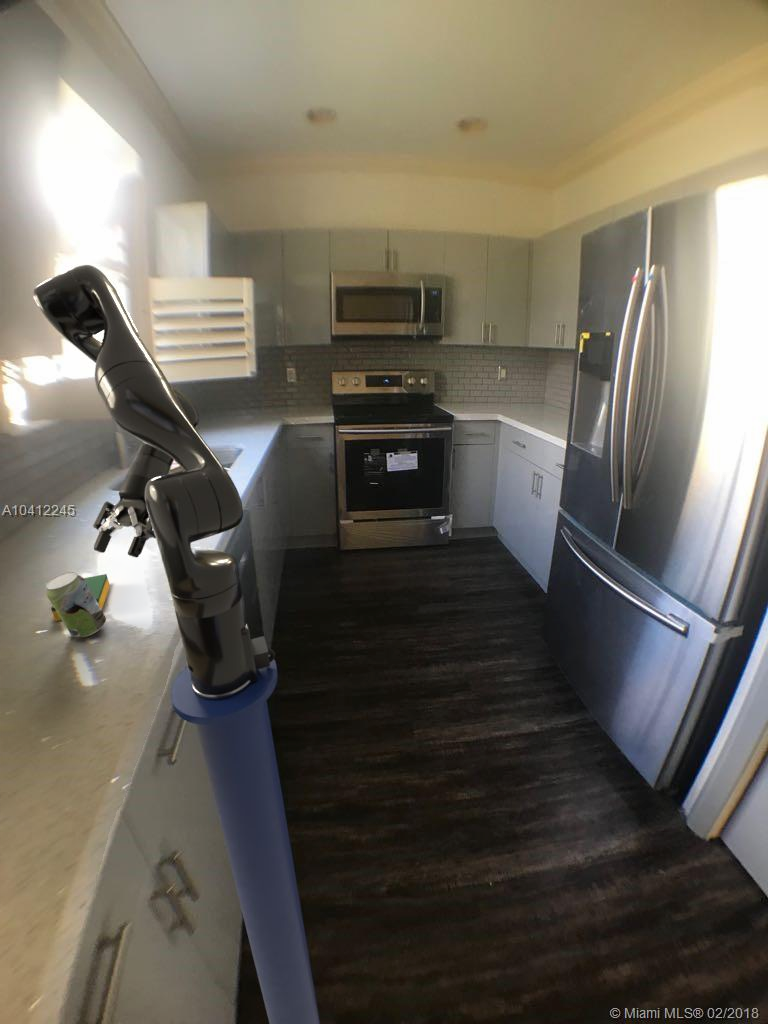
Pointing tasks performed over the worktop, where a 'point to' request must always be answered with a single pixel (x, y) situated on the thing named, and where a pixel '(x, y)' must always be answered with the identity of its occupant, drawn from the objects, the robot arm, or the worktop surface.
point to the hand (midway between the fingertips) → (115, 553)
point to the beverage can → (75, 604)
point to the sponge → (93, 591)
